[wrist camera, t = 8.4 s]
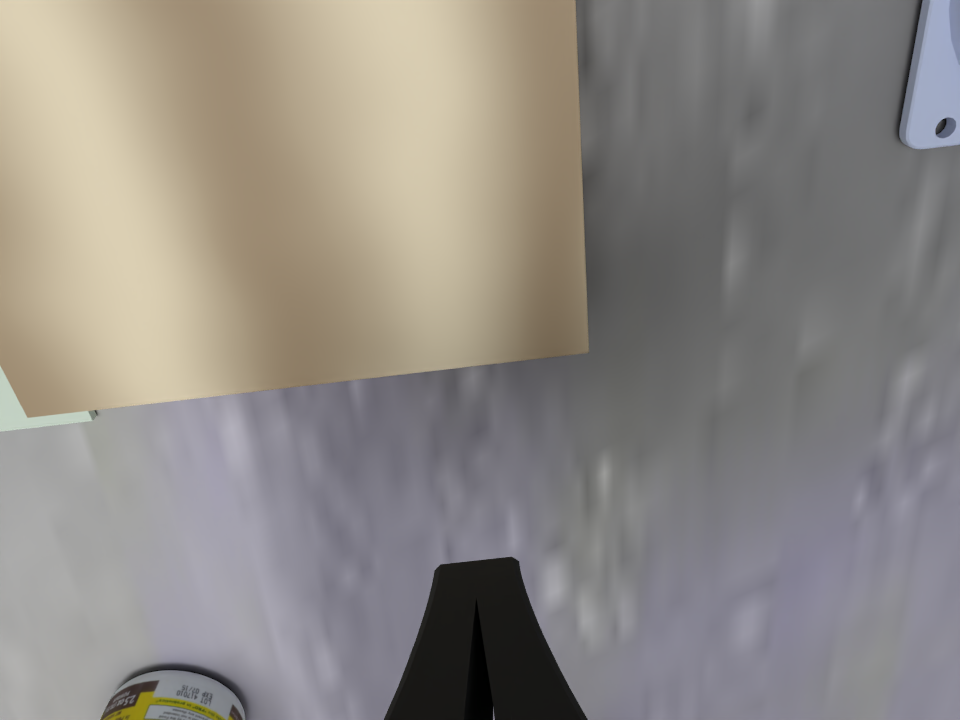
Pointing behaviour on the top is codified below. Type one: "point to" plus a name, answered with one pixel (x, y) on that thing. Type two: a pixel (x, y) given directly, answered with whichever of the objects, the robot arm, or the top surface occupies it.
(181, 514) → the top surface
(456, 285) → the oak board
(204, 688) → the supplement bottle
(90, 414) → the sage mat
